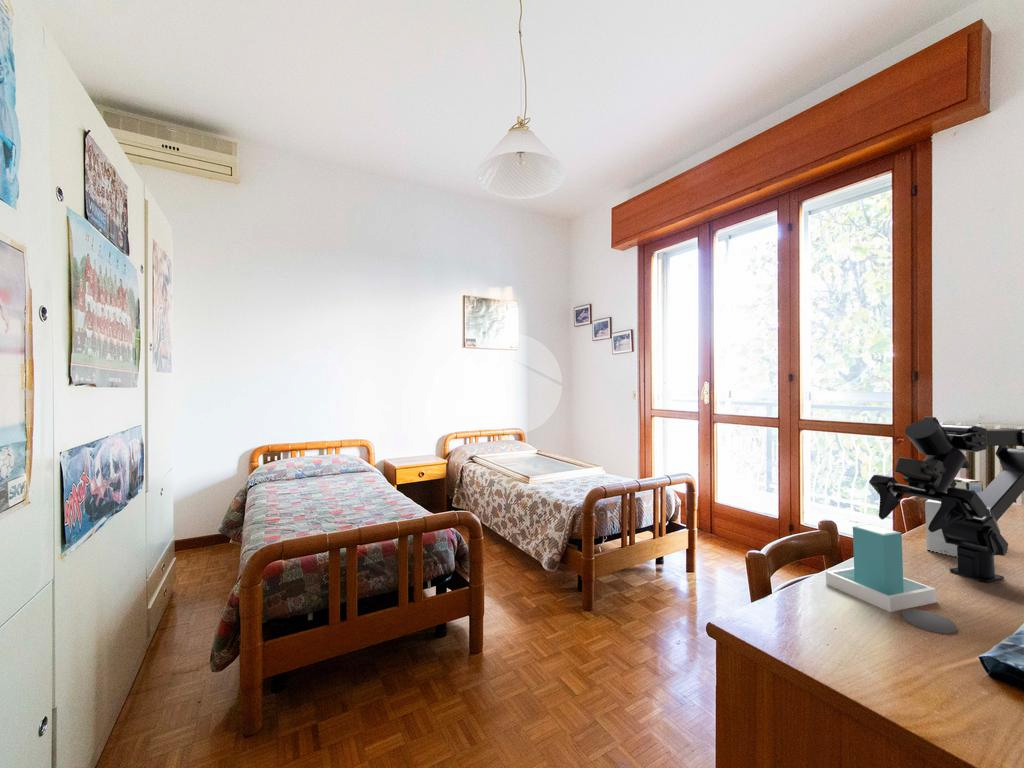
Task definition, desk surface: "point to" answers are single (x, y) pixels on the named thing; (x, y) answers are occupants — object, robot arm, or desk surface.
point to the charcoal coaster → (929, 621)
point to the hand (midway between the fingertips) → (904, 524)
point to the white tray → (910, 598)
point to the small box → (936, 532)
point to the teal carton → (878, 559)
